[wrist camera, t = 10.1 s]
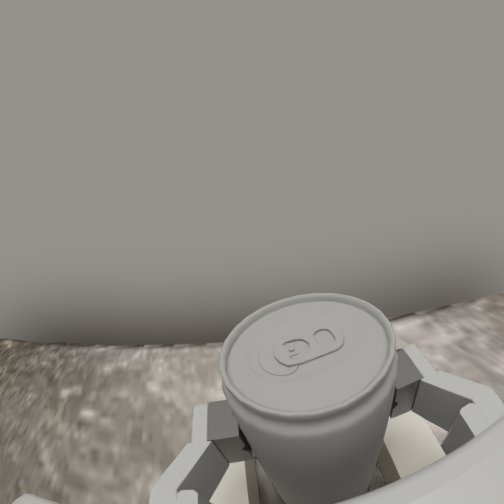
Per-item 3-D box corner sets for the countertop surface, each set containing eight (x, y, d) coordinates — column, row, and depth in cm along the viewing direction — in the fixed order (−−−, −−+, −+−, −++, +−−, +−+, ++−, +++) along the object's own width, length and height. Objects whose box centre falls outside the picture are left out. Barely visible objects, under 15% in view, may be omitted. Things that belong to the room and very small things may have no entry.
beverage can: (273, 470, 13) (206, 320, 9) (348, 442, 14) (345, 274, 9) (296, 535, 9) (229, 451, 4) (382, 500, 10) (440, 358, 5)
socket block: (223, 591, 6) (195, 592, 4) (215, 433, 17) (196, 404, 16) (455, 527, 6) (482, 511, 4) (383, 389, 17) (387, 354, 16)
